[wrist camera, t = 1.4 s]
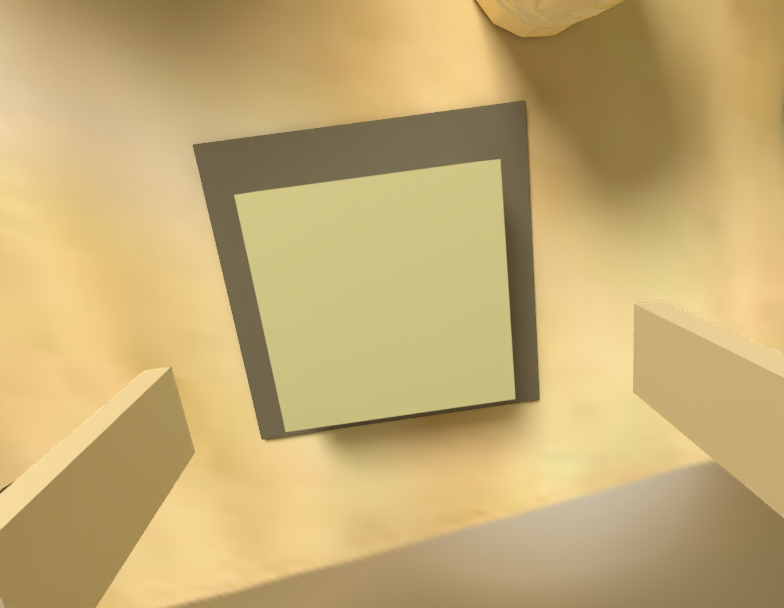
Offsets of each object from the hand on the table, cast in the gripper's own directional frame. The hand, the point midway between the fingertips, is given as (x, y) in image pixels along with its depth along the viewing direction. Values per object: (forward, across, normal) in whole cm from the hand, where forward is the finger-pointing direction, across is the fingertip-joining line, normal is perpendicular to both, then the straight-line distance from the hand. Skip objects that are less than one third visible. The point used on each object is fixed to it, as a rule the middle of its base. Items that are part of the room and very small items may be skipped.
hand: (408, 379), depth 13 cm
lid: (+12, 0, 0) cm, 12 cm away
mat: (+12, 0, 0) cm, 12 cm away
